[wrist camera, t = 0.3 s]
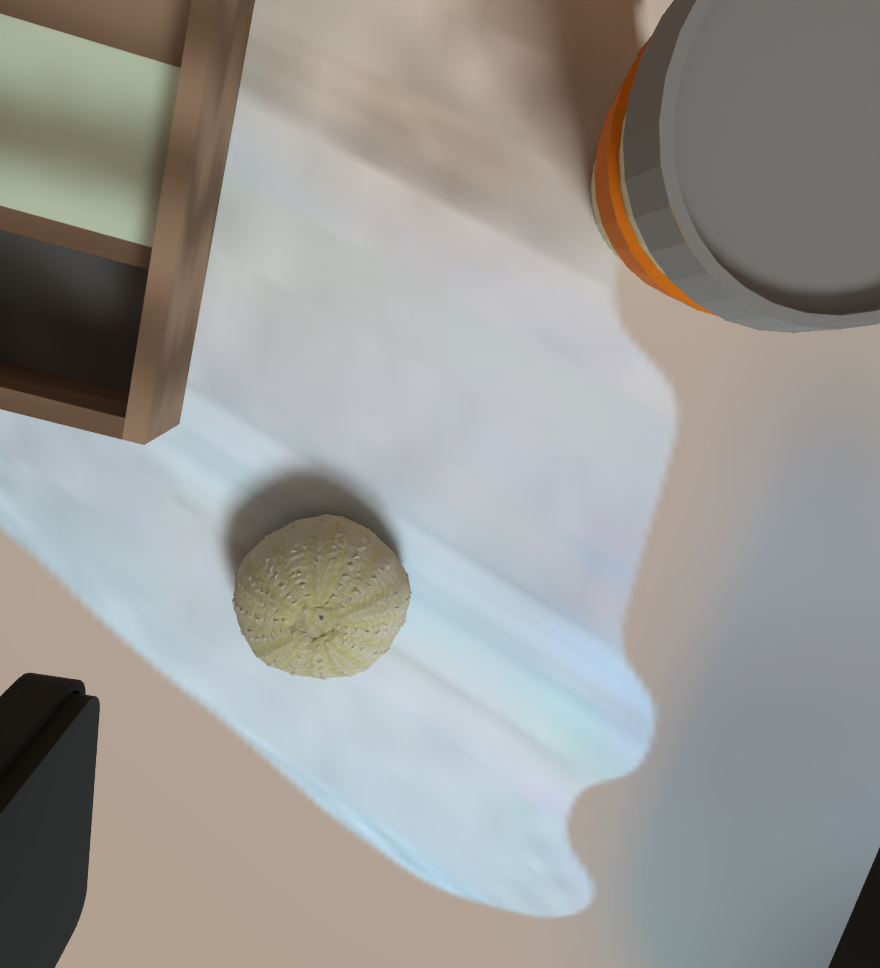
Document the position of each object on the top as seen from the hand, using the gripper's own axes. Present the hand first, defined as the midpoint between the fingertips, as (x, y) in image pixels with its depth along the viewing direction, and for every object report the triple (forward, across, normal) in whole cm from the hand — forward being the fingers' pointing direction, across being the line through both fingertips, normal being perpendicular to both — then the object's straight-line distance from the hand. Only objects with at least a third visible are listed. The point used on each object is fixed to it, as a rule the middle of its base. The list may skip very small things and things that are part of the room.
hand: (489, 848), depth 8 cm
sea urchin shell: (+31, +4, +11) cm, 33 cm away
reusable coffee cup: (+31, -10, -13) cm, 35 cm away
